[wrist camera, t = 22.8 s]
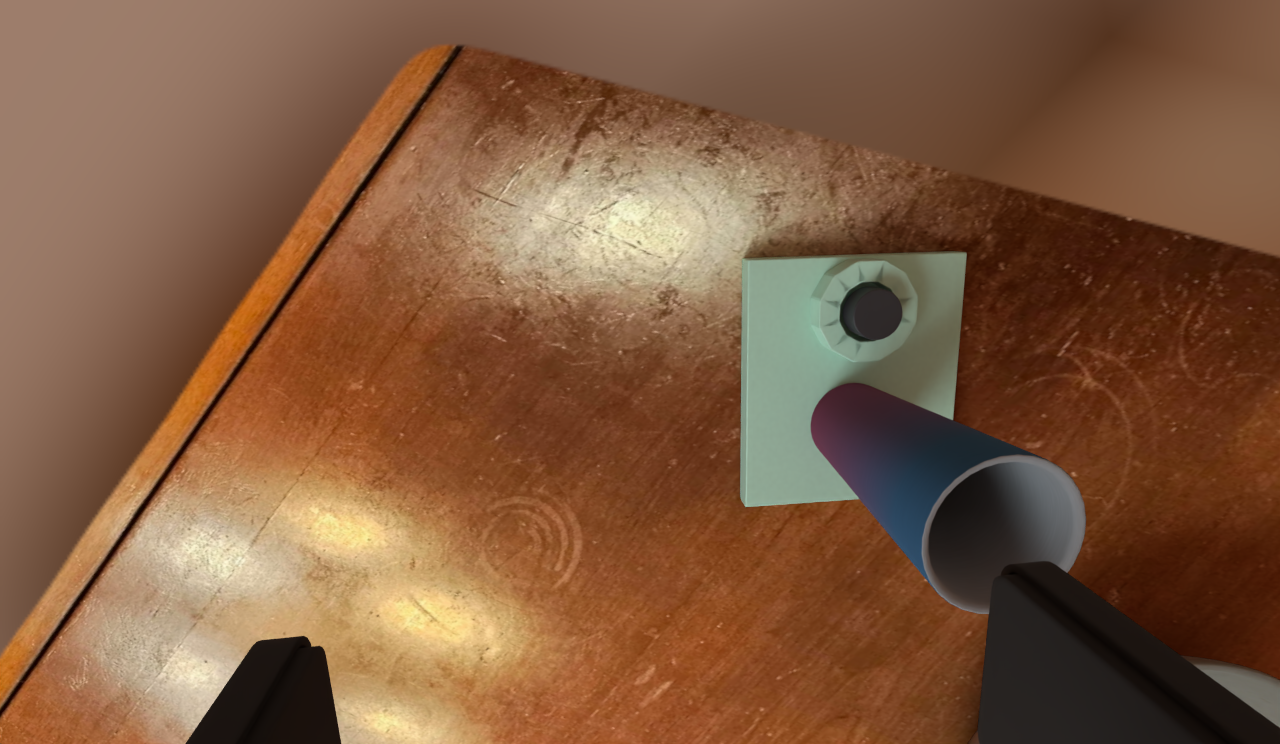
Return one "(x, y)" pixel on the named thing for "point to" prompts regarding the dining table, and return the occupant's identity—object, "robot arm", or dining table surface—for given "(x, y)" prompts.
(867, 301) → the tare button
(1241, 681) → the bowl
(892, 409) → the cup
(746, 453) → the scale
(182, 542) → the dining table surface
